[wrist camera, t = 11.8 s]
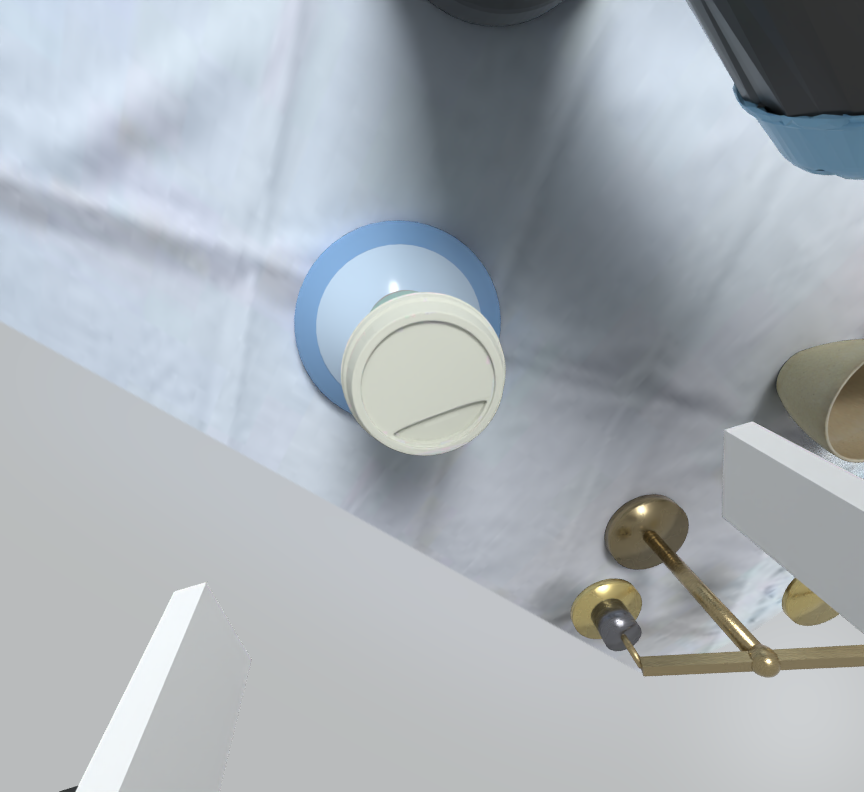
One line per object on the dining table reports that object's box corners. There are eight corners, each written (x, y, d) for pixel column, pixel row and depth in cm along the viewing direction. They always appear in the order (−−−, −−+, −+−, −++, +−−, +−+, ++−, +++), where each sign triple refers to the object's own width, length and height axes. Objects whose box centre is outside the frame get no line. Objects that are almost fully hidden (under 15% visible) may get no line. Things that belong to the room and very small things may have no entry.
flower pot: (770, 444, 43) (844, 485, 37) (735, 368, 40) (810, 398, 33) (863, 382, 42) (956, 412, 36) (836, 297, 39) (935, 313, 32)
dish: (264, 251, 31) (260, 253, 30) (476, 196, 31) (480, 195, 30) (334, 440, 36) (333, 447, 35) (511, 390, 37) (516, 395, 36)
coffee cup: (336, 374, 33) (325, 452, 22) (358, 256, 30) (358, 278, 19) (447, 394, 35) (487, 476, 24) (477, 285, 32) (538, 321, 21)
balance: (534, 528, 43) (635, 706, 27) (744, 465, 44) (957, 602, 28) (545, 589, 46) (641, 780, 30) (741, 529, 47) (931, 684, 31)
